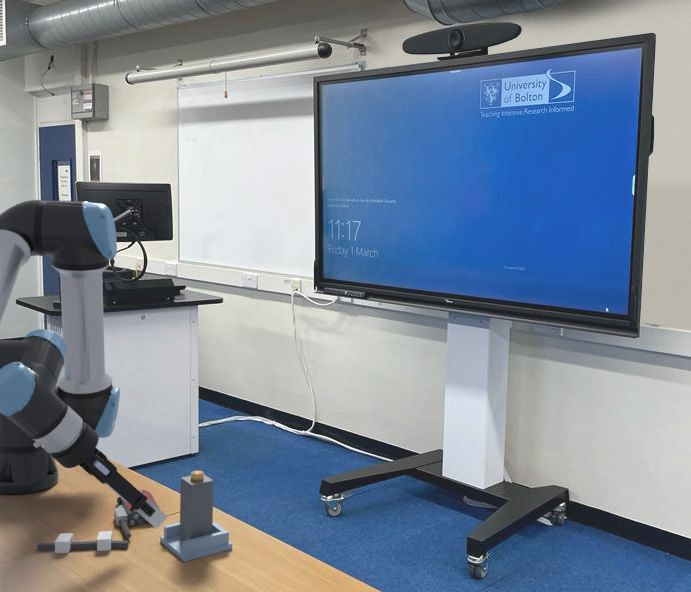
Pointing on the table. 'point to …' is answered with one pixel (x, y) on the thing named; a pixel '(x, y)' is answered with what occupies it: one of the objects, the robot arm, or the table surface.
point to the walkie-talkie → (130, 514)
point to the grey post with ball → (196, 506)
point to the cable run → (83, 543)
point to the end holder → (195, 542)
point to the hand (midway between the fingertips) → (145, 508)
